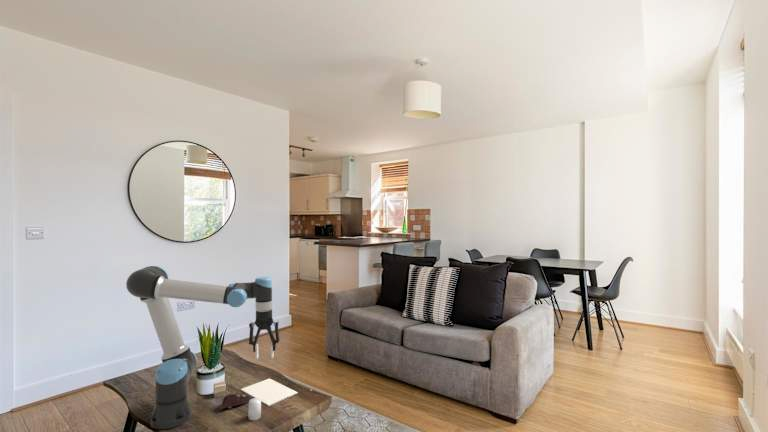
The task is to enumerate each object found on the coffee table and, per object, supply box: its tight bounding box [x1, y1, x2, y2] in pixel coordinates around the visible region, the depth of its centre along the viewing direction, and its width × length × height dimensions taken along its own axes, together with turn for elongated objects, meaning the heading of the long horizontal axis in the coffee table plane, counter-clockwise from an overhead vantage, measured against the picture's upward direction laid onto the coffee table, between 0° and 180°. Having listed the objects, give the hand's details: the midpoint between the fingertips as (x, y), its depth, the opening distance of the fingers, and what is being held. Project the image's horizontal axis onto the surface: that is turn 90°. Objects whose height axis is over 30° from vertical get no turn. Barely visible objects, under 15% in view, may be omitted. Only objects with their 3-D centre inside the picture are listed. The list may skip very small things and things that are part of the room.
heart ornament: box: [220, 392, 252, 410], centre depth 170 cm, size 6×12×11 cm
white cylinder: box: [247, 397, 262, 421], centre depth 160 cm, size 5×5×7 cm
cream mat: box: [240, 378, 298, 407], centre depth 183 cm, size 24×16×1 cm, turn 50°
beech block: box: [213, 380, 227, 399], centre depth 181 cm, size 5×5×5 cm
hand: (264, 357), depth 180 cm, fingers open, 6 cm apart
